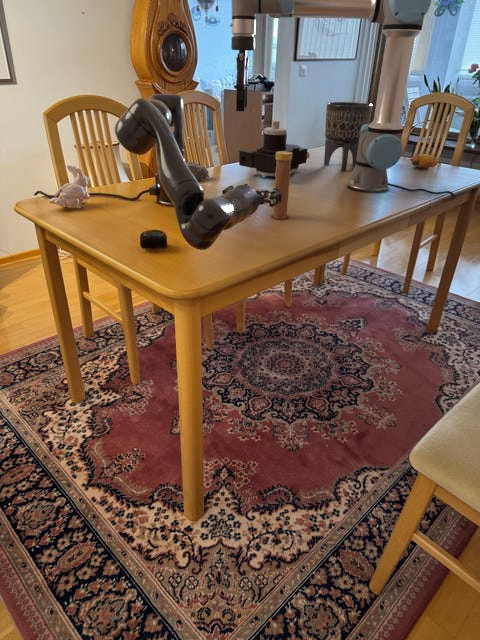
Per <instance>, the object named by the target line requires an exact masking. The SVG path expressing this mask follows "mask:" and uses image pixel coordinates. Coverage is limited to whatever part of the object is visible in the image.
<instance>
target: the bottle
mask: <svg viewBox="0 0 480 640" xmlns="http://www.w3.org/2000/svg"><path fill="white" fill-rule="evenodd" d="M290 166H291V160H289V161H281V160H276V176H274V178H275V180H274V188H275V187H278V188H279V189H280V191H281V192H282V198H281V200H282V201H281V202H280V203H279V204H277V205H275V206H274V207H273V211H272V213H273V215H272V217H273V219H275V220H286V219H287V217H288V206H289V191H290V178H291V175H290Z"/></svg>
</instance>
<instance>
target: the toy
mask: <svg viewBox="0 0 480 640" xmlns="http://www.w3.org/2000/svg"><path fill="white" fill-rule="evenodd" d="M409 160H410V161H411V165H412V166H416V167H420V168H421V169H431V168H434V167H436V166H438V164H439V161H438V160H437V159H434V158H433V156H432V155H430V154H428V153H423V154H419V155H415V156H414V157H412V158H410V159H409Z"/></svg>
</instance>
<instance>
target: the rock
mask: <svg viewBox="0 0 480 640" xmlns="http://www.w3.org/2000/svg"><path fill="white" fill-rule="evenodd" d="M186 164H187V166H188V168H189V169H190V171H191V172H192V174H193V175H194V177H195V178H196V180H197V181H198V182H201V181H202V180H204V179H206V178H209V177H210V175H209V171H208V169H207V168H206V167H205V166H202V165H201V164H199V163H194V162H192V161H190V160H187V161H186Z"/></svg>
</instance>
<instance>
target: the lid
mask: <svg viewBox="0 0 480 640" xmlns="http://www.w3.org/2000/svg"><path fill="white" fill-rule="evenodd" d="M276 160H281V161H289V160H292V152H286V151H279V152H276Z"/></svg>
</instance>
